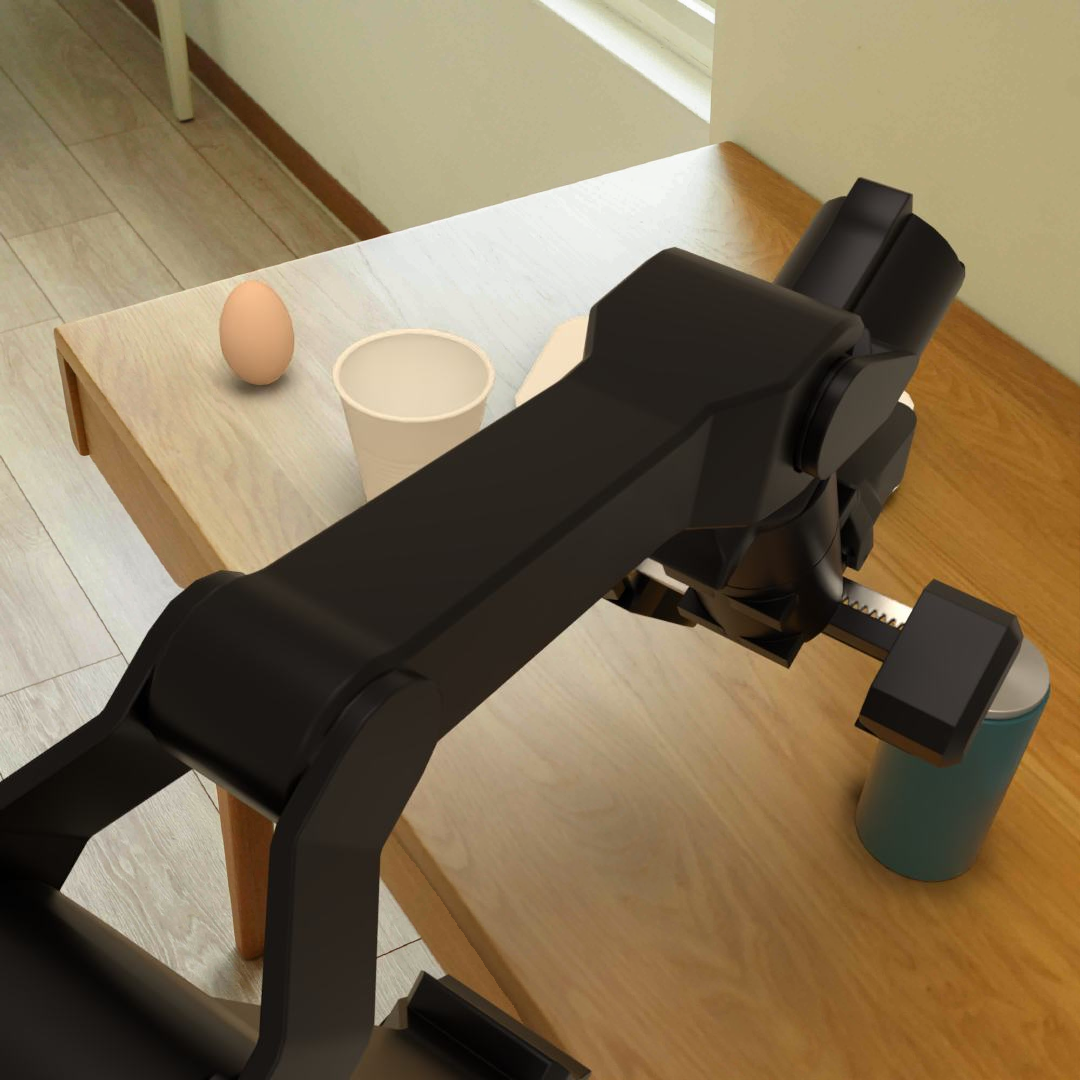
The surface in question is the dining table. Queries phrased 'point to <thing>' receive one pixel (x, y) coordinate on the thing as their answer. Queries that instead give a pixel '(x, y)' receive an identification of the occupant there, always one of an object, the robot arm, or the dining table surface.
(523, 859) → the dining table surface
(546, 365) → the plate
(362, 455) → the cup
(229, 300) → the egg
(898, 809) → the can
